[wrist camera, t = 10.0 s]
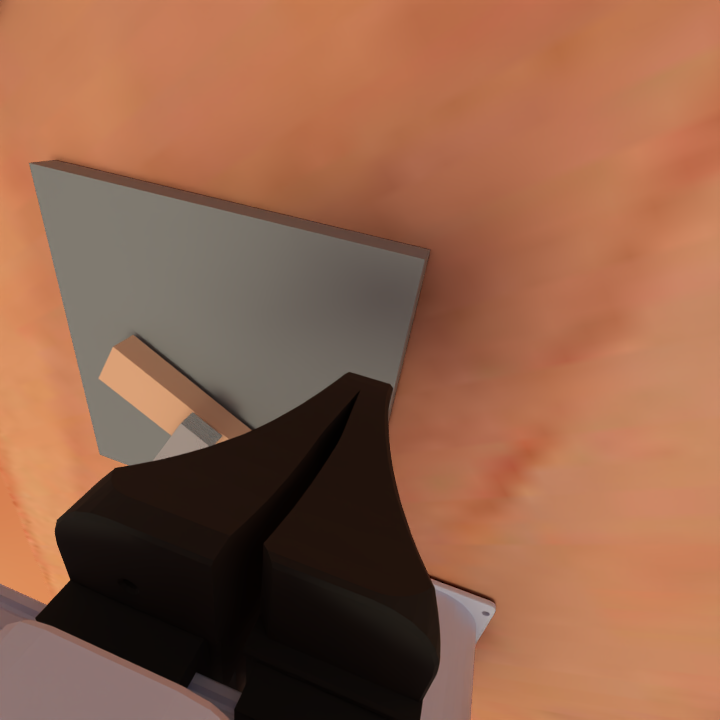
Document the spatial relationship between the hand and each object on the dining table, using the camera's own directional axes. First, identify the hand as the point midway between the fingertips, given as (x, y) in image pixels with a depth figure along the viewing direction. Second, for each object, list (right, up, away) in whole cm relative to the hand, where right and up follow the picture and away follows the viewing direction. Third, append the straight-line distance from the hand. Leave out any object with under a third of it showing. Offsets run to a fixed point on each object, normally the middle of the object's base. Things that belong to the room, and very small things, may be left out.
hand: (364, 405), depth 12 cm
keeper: (-9, -2, +14) cm, 17 cm away
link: (-8, -3, +14) cm, 16 cm away
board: (-8, +1, +14) cm, 16 cm away
